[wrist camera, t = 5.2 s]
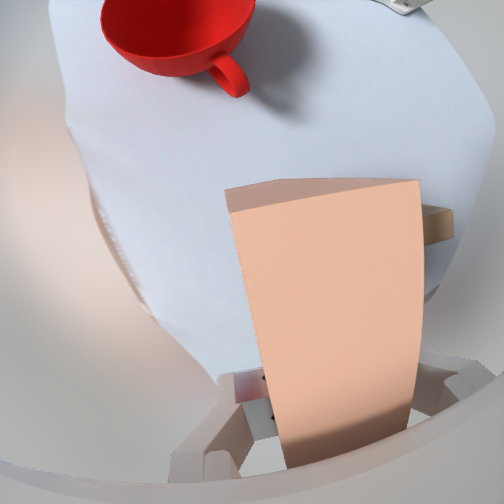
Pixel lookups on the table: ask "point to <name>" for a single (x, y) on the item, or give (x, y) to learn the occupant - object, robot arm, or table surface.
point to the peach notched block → (333, 305)
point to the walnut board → (436, 224)
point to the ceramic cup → (181, 37)
